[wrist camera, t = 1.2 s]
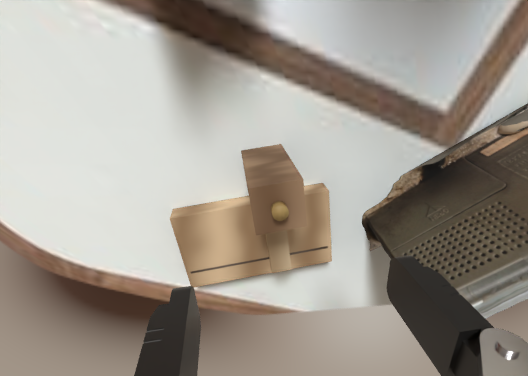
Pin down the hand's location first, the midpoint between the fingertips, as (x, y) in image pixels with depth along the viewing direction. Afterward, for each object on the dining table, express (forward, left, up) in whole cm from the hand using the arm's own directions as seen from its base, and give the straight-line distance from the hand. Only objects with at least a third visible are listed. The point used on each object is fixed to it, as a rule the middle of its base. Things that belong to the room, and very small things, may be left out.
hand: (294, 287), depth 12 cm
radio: (-22, +8, -19) cm, 30 cm away
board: (+1, +9, -19) cm, 21 cm away
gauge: (-1, +6, -19) cm, 20 cm away
